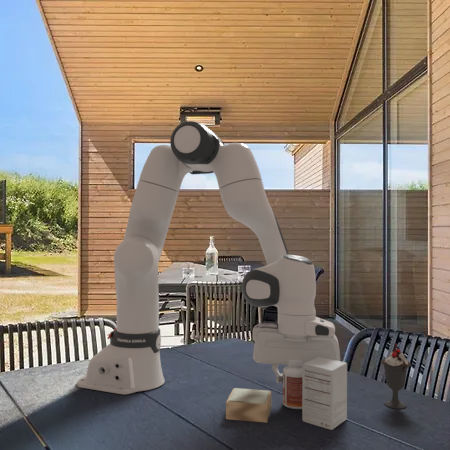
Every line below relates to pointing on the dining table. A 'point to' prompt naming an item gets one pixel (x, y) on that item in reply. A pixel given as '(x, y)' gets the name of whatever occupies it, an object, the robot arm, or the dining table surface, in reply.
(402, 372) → the sundae
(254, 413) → the plinth
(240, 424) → the dining table surface
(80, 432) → the dining table surface
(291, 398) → the pill bottle
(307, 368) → the supplement box
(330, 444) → the dining table surface
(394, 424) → the dining table surface
